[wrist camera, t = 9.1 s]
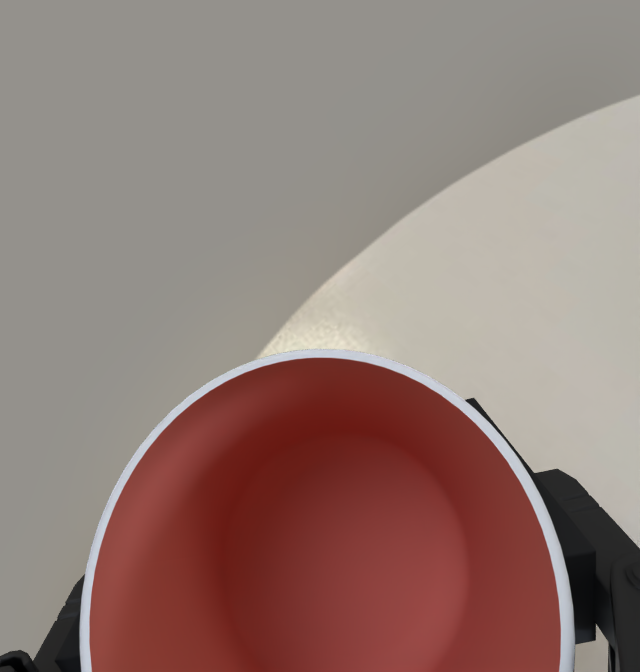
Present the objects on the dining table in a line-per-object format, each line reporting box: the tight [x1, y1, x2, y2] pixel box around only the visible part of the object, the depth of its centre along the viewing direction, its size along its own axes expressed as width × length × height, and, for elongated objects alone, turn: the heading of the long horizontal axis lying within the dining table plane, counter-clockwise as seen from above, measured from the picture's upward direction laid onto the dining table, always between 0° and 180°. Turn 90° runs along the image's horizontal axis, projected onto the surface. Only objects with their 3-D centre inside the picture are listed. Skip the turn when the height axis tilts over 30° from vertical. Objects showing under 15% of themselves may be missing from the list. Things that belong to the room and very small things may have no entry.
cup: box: [80, 349, 575, 672], centre depth 13 cm, size 10×10×10 cm
